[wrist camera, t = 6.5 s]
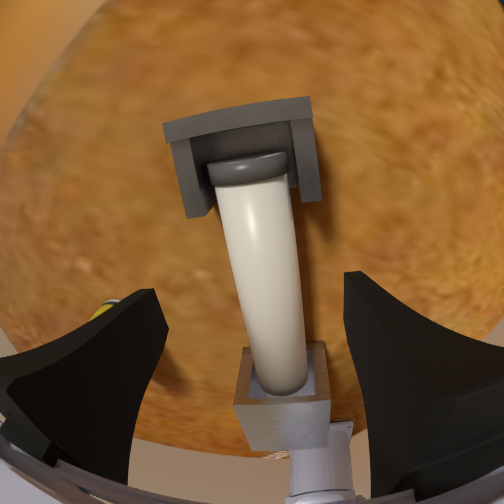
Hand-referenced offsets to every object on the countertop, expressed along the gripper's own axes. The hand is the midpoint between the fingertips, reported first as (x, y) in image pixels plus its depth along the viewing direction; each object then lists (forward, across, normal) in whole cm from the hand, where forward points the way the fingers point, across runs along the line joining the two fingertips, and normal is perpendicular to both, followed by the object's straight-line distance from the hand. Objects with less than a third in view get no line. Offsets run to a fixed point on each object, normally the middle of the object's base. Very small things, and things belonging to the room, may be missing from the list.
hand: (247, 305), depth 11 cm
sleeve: (+9, 0, +15) cm, 18 cm away
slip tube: (+8, 0, +3) cm, 9 cm away
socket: (+9, 0, -5) cm, 11 cm away
